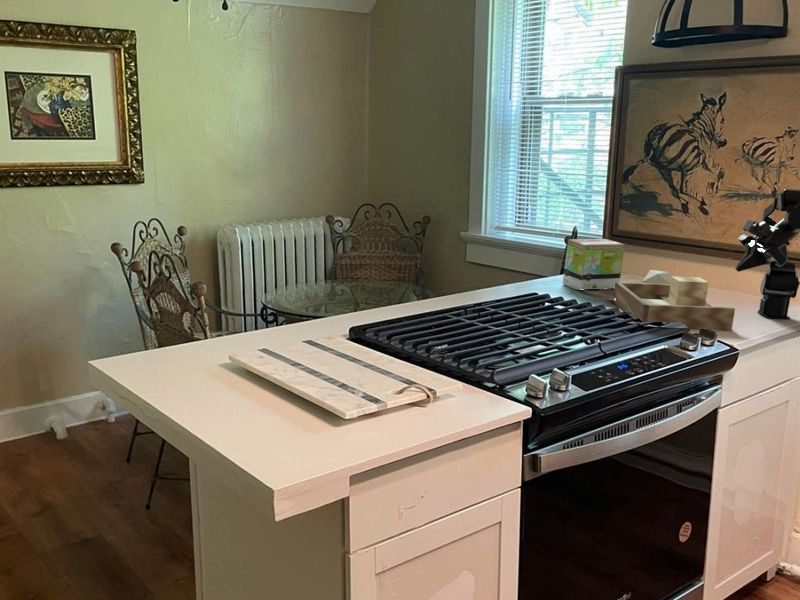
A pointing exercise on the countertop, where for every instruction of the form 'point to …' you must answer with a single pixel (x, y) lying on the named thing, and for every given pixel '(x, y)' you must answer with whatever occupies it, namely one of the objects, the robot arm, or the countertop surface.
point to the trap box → (669, 307)
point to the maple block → (687, 291)
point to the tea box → (593, 263)
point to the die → (657, 277)
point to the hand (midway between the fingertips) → (736, 270)
